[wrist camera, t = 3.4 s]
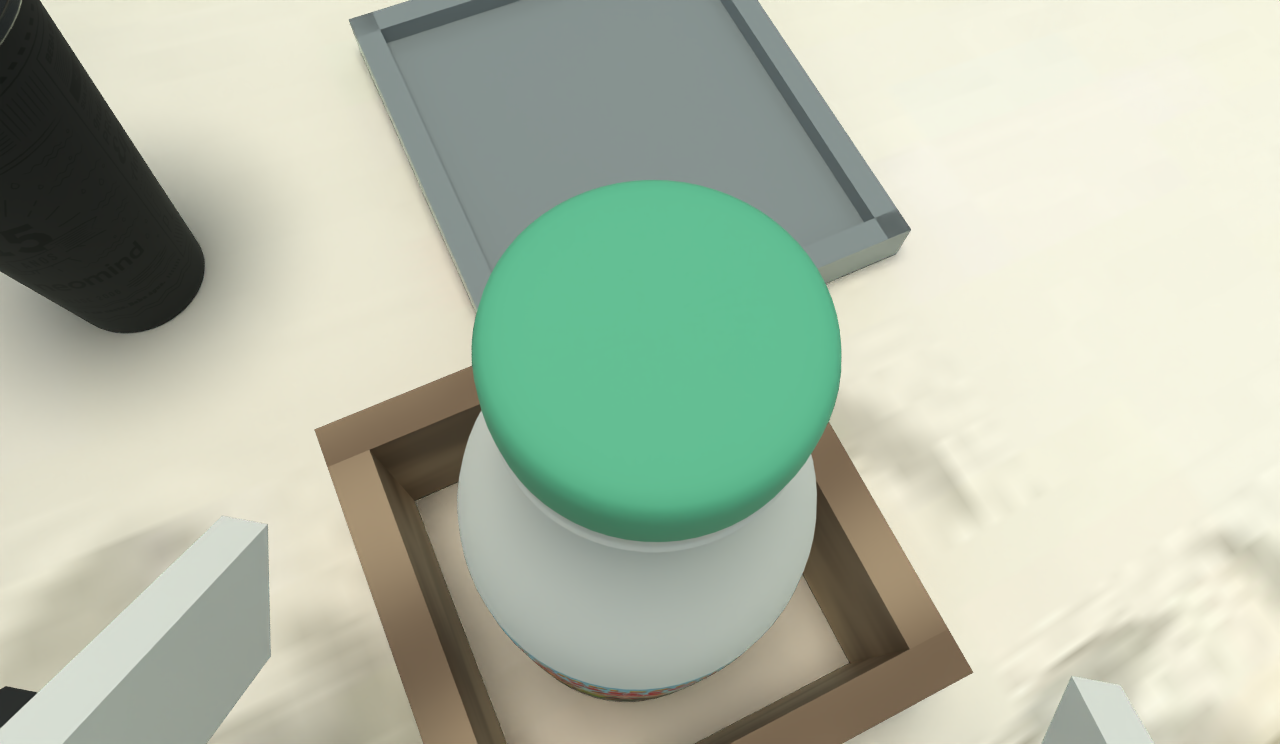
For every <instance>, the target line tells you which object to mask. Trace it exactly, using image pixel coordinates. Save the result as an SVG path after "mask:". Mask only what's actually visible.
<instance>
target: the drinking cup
mask: <svg viewBox="0 0 1280 744" xmlns="http://www.w3.org/2000/svg"><path fill="white" fill-rule="evenodd" d="M0 272H2V273H4V274H6V275H7V276H9V277H11V278H13V279H14V280H16V281H18V282H20V283H21V284H23V285H25V286H27V287H28V288H30V289H32V290H34V291H35V292H37V293H39V294H41V295H42V296H44V297H46V298H48V299H49V300H51V301H53V302H55V303H56V304H58V305H60V306H62V307H63V308H65V309H67V310H68V311H70V312H72V313H74V314H75V315H77V316H79V317H81V318H82V319H84V320H86V321H88V322H89V323H91V324H93V325H95V326H97V327H99V328H101V329H104V330H108V331H112V332H121V333H129V332H138V331H144V330H148V329H151V328H154V327H156V326H159V325H161V324H163V323H165V322H167V321H168V320H170V319H172V318H173V317H175V316H176V315H177V314H179V313H180V312H181V311H182V310H183V309H184V308H185V307H186V306H187V305H188V304H189V303H190V302H191V300H192V299H193V298H194V296H195V294H196V293H197V291H198V289H199V287H200V284H201V282H202V278H203V273H204V257H203V253H202V250H201V248H200V246H199V244H198V242H197V241H196V239H195V238H194V236H193V234H192V233H191V231H190V230H189V228H188V227H187V225H186V224H185V222H184V221H183V219H182V218H181V216H180V215H179V213H178V211H177V210H176V208H175V207H174V205H173V204H172V202H171V201H170V199H169V198H168V196H167V195H166V193H165V192H164V190H163V188H162V187H161V185H160V184H159V182H158V181H157V179H156V178H155V176H154V175H153V173H152V172H151V170H150V169H149V167H148V165H147V164H146V162H145V161H144V159H143V158H142V156H141V155H140V153H139V152H138V150H137V149H136V147H135V146H134V144H133V142H132V141H131V139H130V138H129V136H128V135H127V133H126V132H125V130H124V129H123V127H122V126H121V124H120V123H119V121H118V120H117V118H116V116H115V115H114V113H113V112H112V110H111V109H110V107H109V106H108V104H107V103H106V101H105V100H104V98H103V97H102V95H101V93H100V92H99V90H98V89H97V87H96V86H95V84H94V83H93V81H92V80H91V78H90V77H89V75H88V74H87V72H86V70H85V69H84V67H83V66H82V64H81V63H80V61H79V60H78V58H77V57H76V55H75V54H74V52H73V51H72V49H71V47H70V46H69V44H68V43H67V41H66V40H65V38H64V37H63V35H62V34H61V32H60V31H59V29H58V28H57V26H56V24H55V23H54V21H53V20H52V18H51V17H50V15H49V14H48V12H47V11H46V9H45V8H44V6H43V5H42V3H41V1H40V0H0Z"/></svg>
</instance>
